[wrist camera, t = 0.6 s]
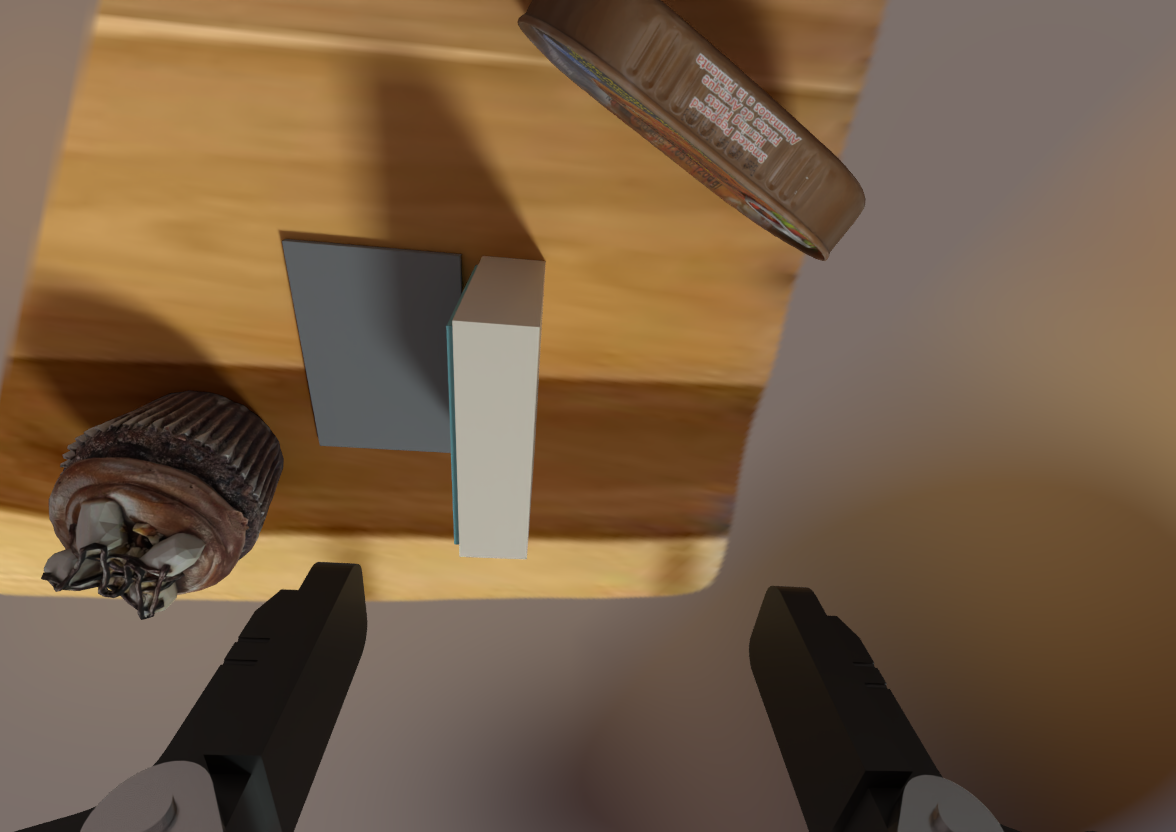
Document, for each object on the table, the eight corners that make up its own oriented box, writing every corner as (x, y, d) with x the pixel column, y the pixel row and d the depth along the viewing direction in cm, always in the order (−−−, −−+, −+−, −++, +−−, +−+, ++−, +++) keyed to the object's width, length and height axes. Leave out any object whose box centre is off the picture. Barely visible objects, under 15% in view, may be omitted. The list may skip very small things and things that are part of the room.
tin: (520, 40, 23) (502, 19, 16) (560, -39, 22) (560, -101, 15) (774, 241, 28) (849, 294, 21) (819, 186, 27) (916, 222, 19)
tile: (476, 254, 28) (444, 320, 20) (545, 260, 28) (539, 327, 20) (477, 449, 34) (453, 556, 26) (534, 452, 34) (526, 559, 26)
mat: (285, 238, 27) (281, 240, 26) (461, 254, 27) (459, 256, 27) (322, 441, 33) (319, 445, 32) (465, 449, 34) (464, 453, 33)
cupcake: (313, 413, 32) (223, 533, 23) (282, 527, 36) (196, 663, 28) (131, 350, 29) (-45, 458, 21) (121, 480, 34) (-29, 614, 25)
